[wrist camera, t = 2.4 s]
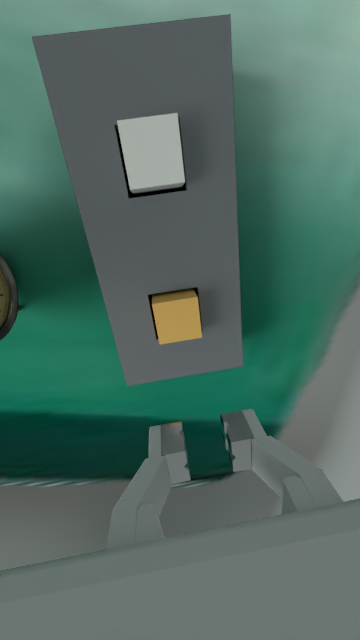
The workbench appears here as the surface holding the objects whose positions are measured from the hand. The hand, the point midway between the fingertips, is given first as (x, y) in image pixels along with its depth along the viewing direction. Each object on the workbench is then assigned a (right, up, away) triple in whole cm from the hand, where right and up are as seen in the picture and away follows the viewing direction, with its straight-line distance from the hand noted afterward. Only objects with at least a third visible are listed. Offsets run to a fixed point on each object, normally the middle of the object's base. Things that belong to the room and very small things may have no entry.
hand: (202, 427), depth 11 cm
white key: (-3, +19, +9) cm, 21 cm away
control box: (-3, +14, +17) cm, 22 cm away
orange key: (-2, +6, +15) cm, 16 cm away
